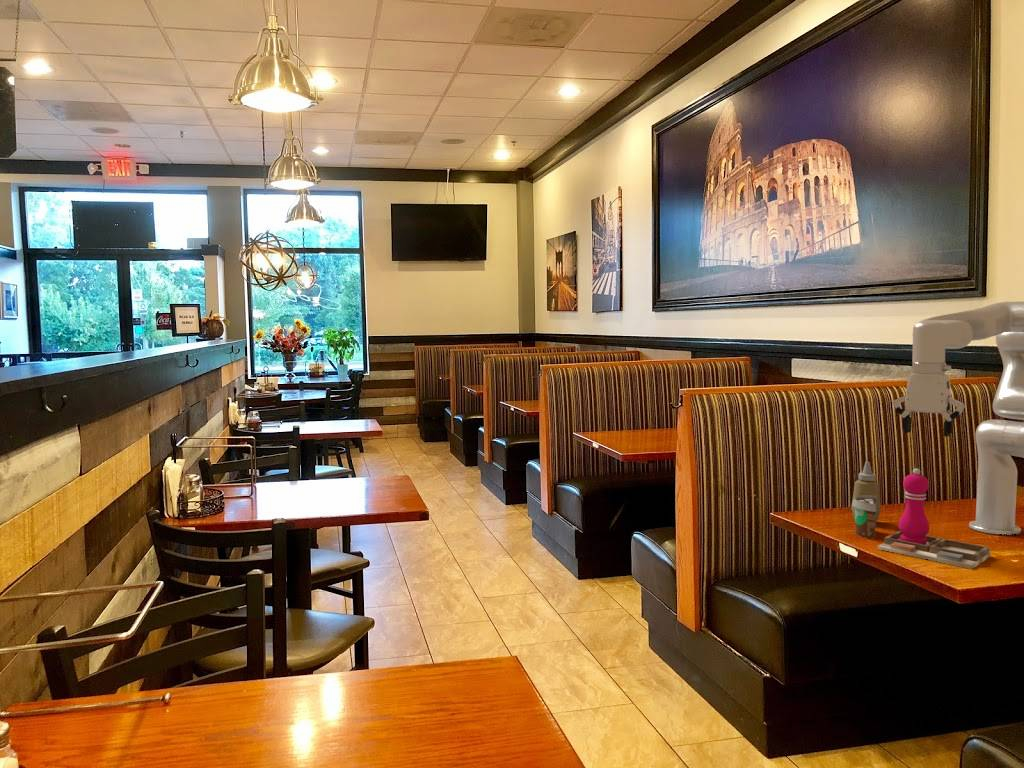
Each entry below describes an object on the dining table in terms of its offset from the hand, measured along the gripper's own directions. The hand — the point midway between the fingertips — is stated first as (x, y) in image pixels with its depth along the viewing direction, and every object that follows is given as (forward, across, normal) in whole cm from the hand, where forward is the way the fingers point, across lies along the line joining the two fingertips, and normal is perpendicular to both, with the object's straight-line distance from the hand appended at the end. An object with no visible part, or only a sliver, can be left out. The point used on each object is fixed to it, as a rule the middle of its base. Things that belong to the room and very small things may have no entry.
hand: (927, 434), depth 203 cm
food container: (+30, +16, +1) cm, 34 cm away
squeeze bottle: (+30, +21, -13) cm, 39 cm away
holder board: (+30, -4, +6) cm, 31 cm away
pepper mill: (+29, +1, +5) cm, 29 cm away
